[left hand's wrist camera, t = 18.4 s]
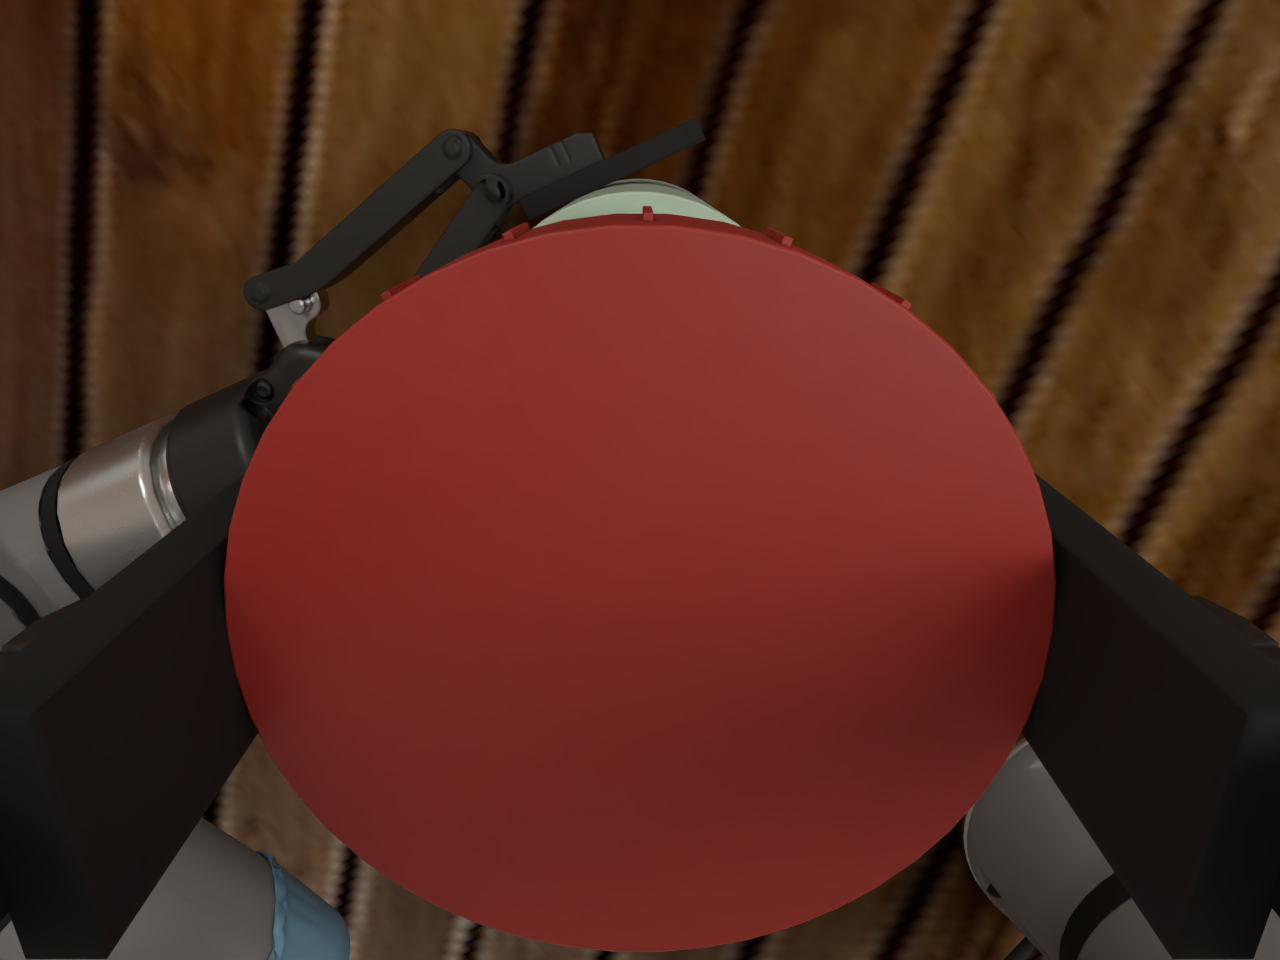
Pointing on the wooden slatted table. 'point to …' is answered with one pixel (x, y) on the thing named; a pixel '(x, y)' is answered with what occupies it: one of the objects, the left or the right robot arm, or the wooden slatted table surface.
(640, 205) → the jar
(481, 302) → the lid
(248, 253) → the wooden slatted table surface
